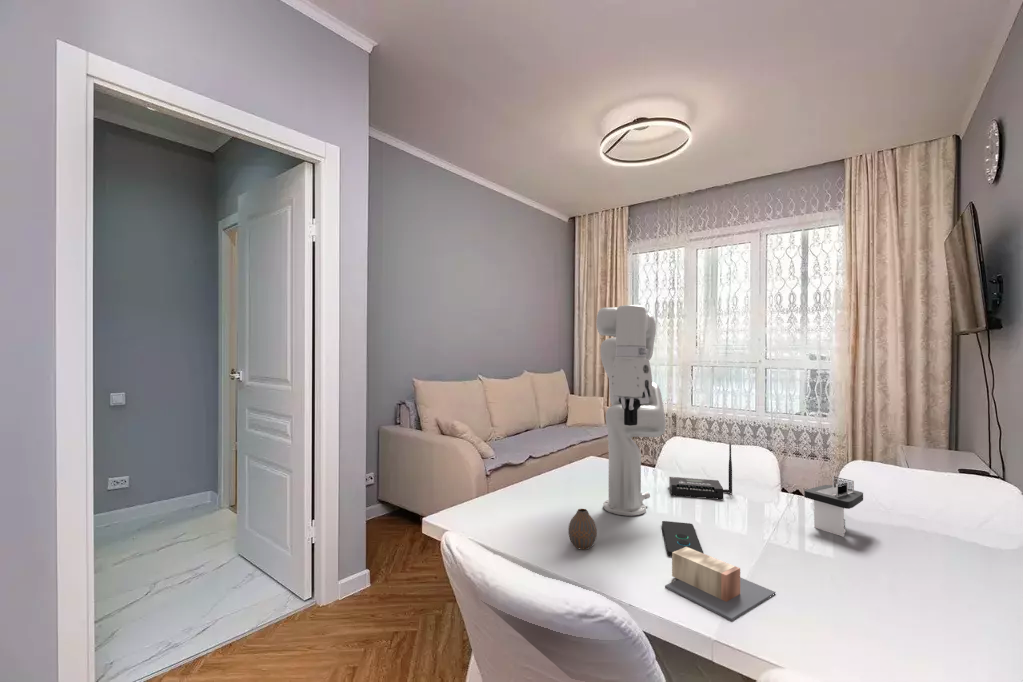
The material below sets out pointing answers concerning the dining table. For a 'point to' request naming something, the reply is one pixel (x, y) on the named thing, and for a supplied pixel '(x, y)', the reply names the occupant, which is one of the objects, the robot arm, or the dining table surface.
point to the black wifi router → (700, 485)
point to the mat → (730, 609)
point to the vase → (582, 530)
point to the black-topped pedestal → (833, 504)
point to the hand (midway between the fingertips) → (630, 424)
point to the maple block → (706, 573)
